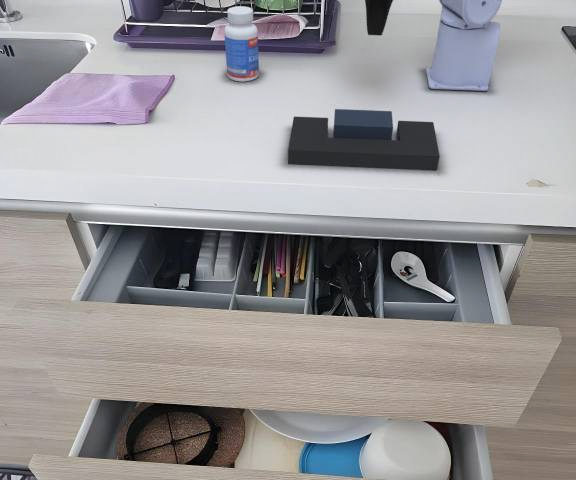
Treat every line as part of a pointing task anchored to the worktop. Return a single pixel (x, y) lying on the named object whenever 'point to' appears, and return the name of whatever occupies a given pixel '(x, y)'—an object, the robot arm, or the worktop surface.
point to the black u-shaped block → (364, 146)
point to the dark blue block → (363, 124)
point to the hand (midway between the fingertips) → (374, 25)
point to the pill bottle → (241, 45)
